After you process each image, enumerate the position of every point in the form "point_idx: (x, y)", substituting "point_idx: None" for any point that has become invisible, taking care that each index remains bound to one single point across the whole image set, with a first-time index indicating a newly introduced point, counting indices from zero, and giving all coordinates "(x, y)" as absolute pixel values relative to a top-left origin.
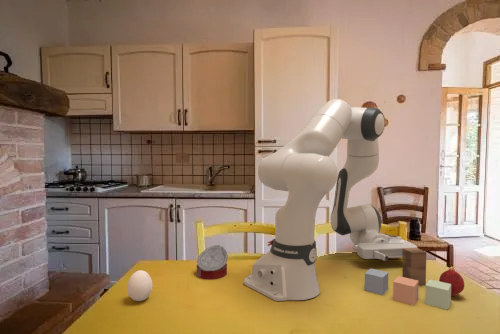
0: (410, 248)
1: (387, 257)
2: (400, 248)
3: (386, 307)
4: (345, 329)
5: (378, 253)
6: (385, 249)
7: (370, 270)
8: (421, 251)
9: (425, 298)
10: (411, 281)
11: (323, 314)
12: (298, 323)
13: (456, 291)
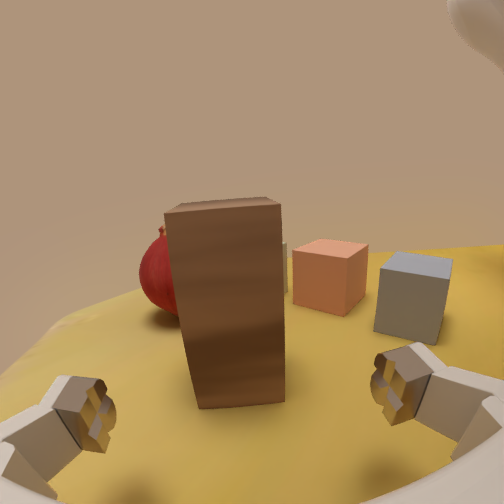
0: (224, 206)
1: (379, 363)
2: (54, 501)
3: None
4: (431, 249)
5: (471, 377)
6: (398, 490)
7: (444, 270)
8: (197, 203)
9: (286, 278)
10: (316, 247)
11: (470, 259)
12: (482, 250)
13: None
